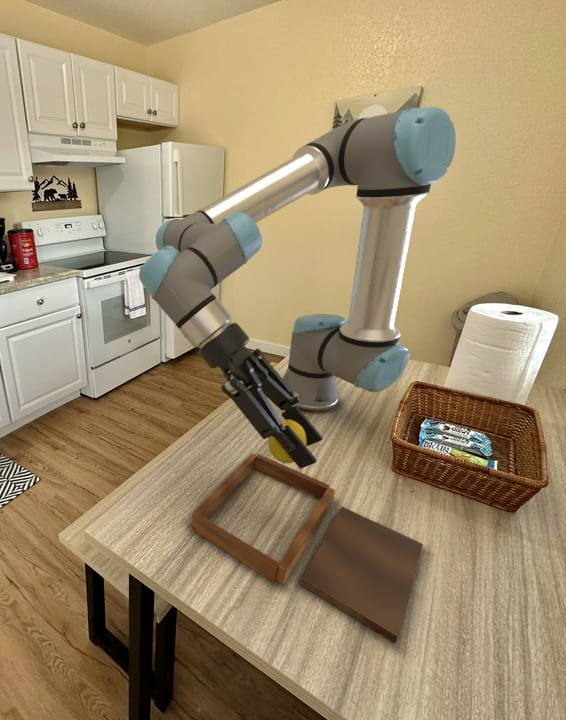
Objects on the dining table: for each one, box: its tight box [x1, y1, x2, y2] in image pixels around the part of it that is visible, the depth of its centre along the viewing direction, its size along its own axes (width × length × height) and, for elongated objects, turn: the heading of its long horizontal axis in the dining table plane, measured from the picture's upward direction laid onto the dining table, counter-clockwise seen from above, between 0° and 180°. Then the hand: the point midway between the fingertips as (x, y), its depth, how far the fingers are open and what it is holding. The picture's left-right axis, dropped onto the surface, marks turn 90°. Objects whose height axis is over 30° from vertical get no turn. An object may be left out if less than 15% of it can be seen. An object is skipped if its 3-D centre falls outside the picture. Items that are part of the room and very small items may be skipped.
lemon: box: [267, 419, 307, 464], centre depth 60 cm, size 6×6×8 cm
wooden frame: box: [191, 453, 336, 586], centre depth 67 cm, size 22×16×3 cm
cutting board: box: [300, 506, 424, 644], centre depth 58 cm, size 18×12×2 cm, turn 138°
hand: (311, 452), depth 58 cm, fingers closed on lemon, 5 cm apart
